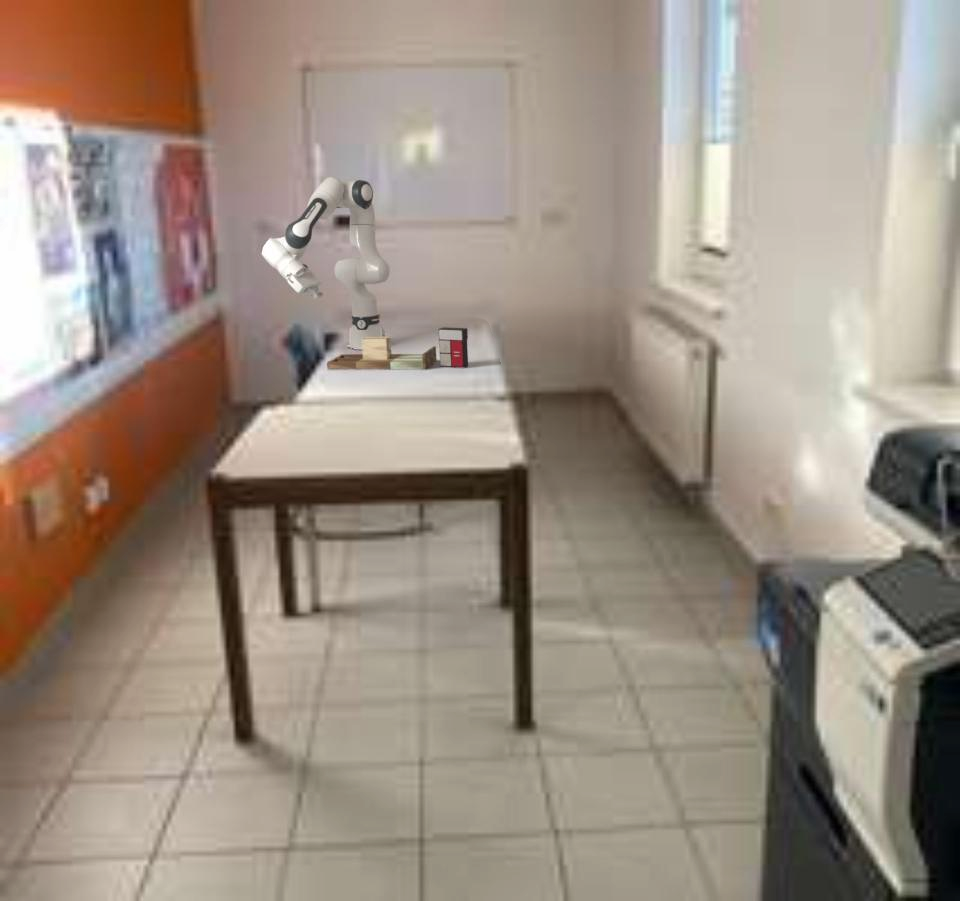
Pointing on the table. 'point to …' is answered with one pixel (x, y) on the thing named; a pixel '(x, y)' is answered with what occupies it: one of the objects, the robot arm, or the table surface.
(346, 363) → the box
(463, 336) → the toy cabinet
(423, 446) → the table surface
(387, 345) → the block
